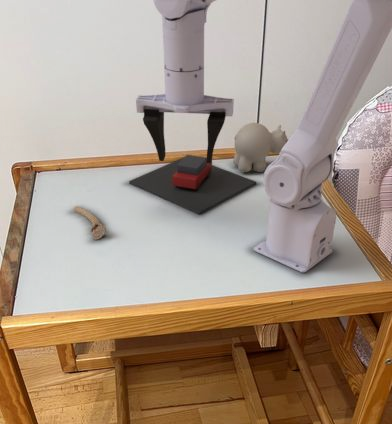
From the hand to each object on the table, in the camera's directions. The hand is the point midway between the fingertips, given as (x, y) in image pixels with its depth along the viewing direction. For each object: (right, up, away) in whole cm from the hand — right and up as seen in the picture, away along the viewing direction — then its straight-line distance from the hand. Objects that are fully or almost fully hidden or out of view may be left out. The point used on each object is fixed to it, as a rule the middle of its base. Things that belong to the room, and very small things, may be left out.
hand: (185, 159), depth 84 cm
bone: (-16, -10, +4) cm, 19 cm away
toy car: (-1, +3, +14) cm, 14 cm away
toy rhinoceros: (+15, +6, +20) cm, 26 cm away
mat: (+1, +1, +15) cm, 15 cm away
